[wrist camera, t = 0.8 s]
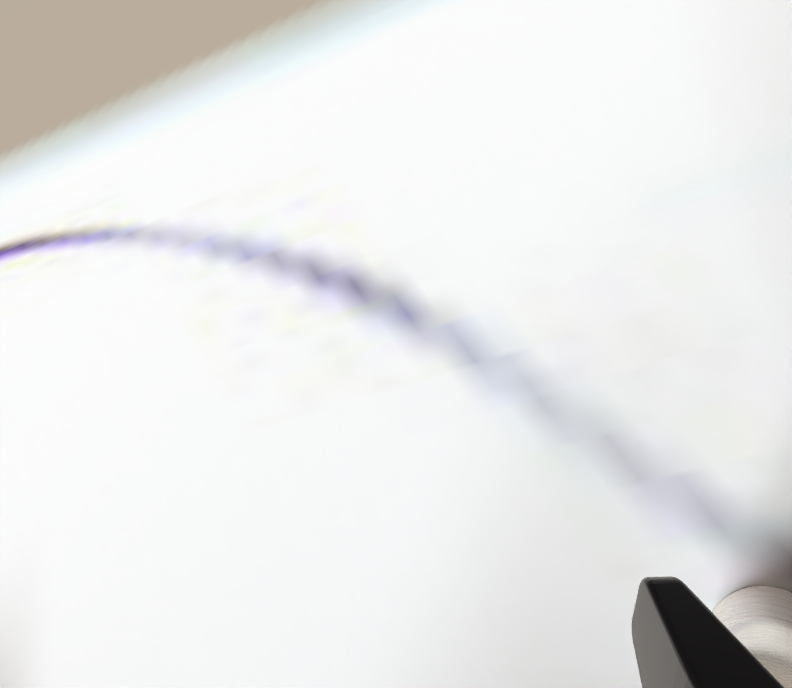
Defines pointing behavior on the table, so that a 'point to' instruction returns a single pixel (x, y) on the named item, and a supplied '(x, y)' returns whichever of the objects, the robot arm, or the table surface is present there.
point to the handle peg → (762, 626)
